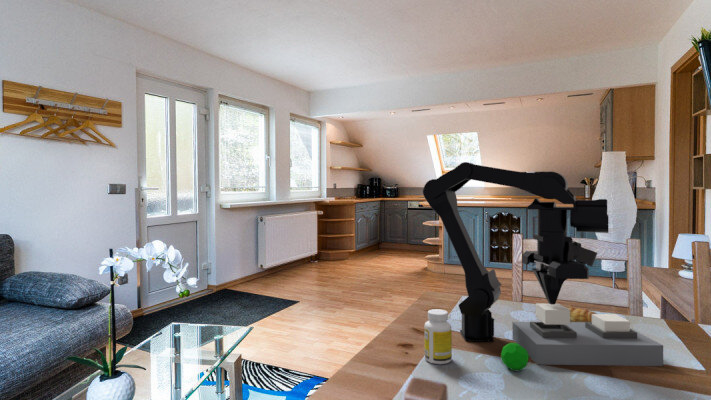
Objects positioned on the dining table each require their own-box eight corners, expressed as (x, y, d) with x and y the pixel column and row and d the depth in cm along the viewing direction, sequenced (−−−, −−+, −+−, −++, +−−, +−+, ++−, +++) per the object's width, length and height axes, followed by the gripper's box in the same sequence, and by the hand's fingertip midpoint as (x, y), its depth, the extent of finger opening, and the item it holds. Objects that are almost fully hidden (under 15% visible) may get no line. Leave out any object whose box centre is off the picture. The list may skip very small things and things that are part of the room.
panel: (537, 364, 79) (536, 338, 79) (512, 338, 93) (512, 316, 93) (663, 365, 78) (663, 339, 78) (619, 339, 92) (619, 317, 91)
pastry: (611, 325, 103) (611, 310, 102) (605, 332, 98) (605, 316, 97) (570, 317, 109) (570, 303, 109) (563, 324, 104) (563, 309, 104)
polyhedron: (502, 373, 75) (502, 347, 75) (499, 362, 80) (499, 338, 80) (531, 375, 74) (531, 350, 74) (526, 364, 79) (526, 340, 79)
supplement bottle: (456, 359, 82) (456, 311, 82) (442, 367, 78) (441, 317, 78) (434, 352, 85) (433, 306, 85) (419, 359, 82) (419, 311, 81)
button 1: (545, 324, 83) (545, 310, 83) (535, 317, 88) (535, 303, 88) (570, 324, 83) (569, 310, 83) (558, 317, 88) (558, 303, 88)
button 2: (604, 335, 82) (604, 321, 82) (591, 327, 87) (591, 314, 87) (629, 335, 82) (629, 321, 82) (615, 327, 87) (615, 314, 87)
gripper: (617, 235, 75) (617, 317, 76) (569, 227, 94) (569, 293, 94) (557, 235, 76) (557, 317, 76) (521, 227, 95) (521, 293, 95)
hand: (551, 303), depth 85 cm, fingers closed
